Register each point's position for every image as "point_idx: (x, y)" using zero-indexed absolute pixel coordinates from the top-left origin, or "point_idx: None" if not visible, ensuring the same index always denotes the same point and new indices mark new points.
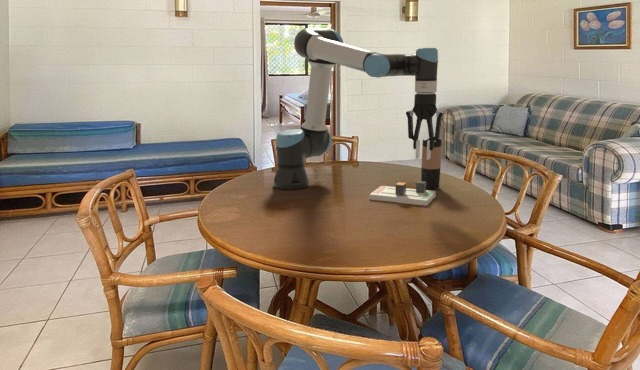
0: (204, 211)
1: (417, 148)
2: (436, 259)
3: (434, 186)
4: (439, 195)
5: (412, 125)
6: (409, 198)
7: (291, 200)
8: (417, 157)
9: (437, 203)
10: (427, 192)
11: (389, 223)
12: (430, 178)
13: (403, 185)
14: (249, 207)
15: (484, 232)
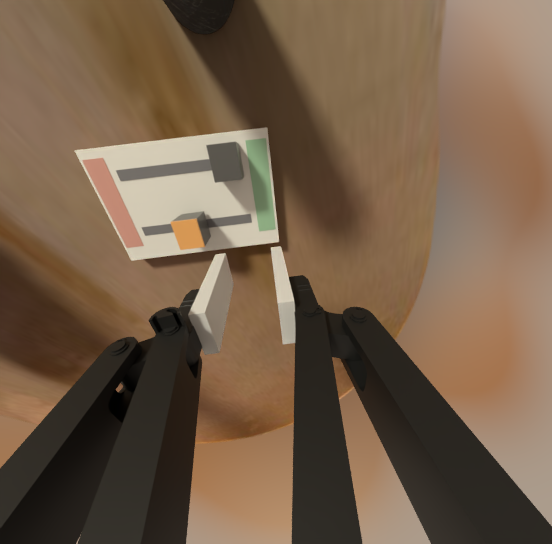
0: (9, 417)
1: (224, 317)
2: (346, 393)
3: (226, 9)
4: (274, 110)
5: (48, 503)
6: (235, 246)
7: (26, 335)
8: (232, 287)
9: (294, 204)
10: (250, 161)
11: (260, 346)
12: (204, 2)
13: (204, 246)
14: (28, 386)
15: (396, 316)
